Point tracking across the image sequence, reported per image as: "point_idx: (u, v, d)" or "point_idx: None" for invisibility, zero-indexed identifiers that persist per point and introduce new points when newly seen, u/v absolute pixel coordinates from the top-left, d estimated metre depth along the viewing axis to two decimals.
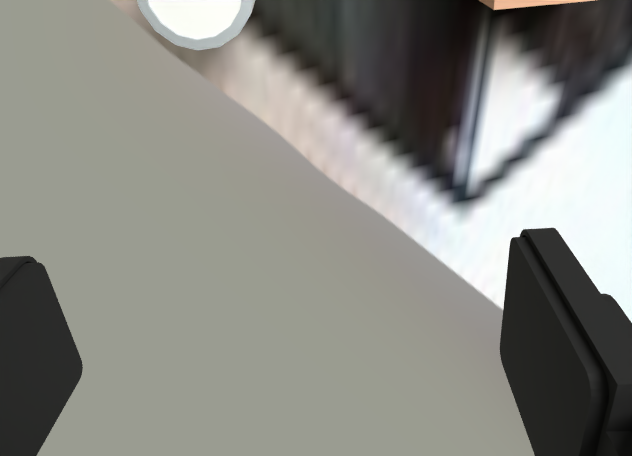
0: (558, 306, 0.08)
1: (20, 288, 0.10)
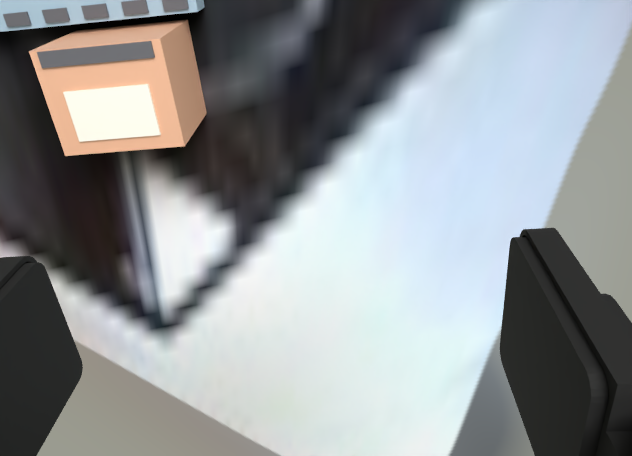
0: (558, 306, 0.08)
1: (20, 288, 0.10)
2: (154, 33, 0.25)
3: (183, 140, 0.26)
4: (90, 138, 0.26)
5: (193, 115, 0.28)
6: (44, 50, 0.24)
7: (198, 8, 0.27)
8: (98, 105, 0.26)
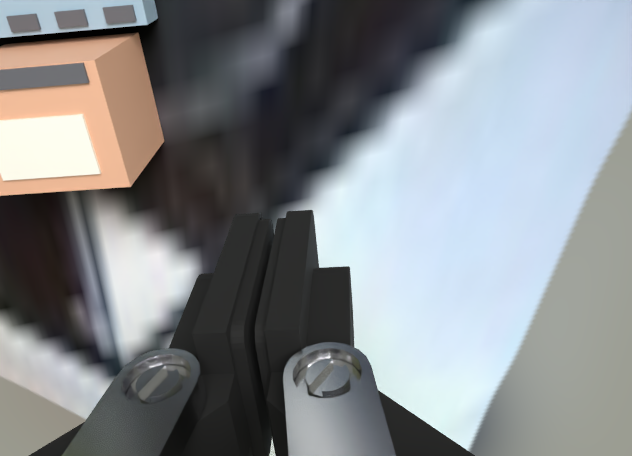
0: (271, 273, 0.09)
1: (266, 240, 0.11)
2: (91, 51, 0.21)
3: (128, 179, 0.22)
4: (15, 176, 0.22)
5: (144, 147, 0.24)
6: None
7: (148, 20, 0.22)
8: (24, 137, 0.21)
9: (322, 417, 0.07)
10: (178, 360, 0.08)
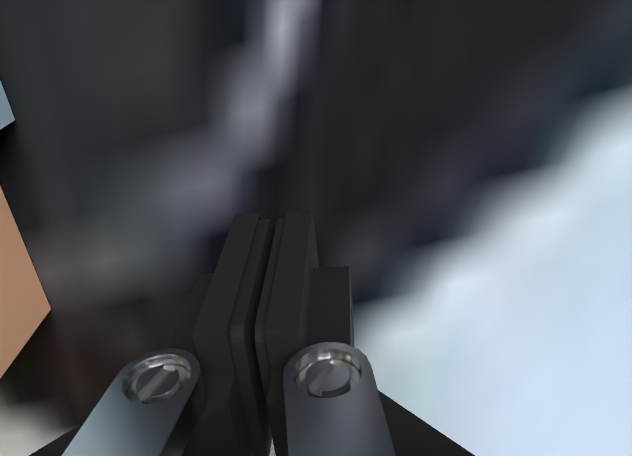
0: (271, 273, 0.09)
1: (266, 240, 0.11)
2: None
3: None
4: None
5: None
6: None
7: None
8: None
9: (322, 417, 0.07)
10: (178, 360, 0.08)
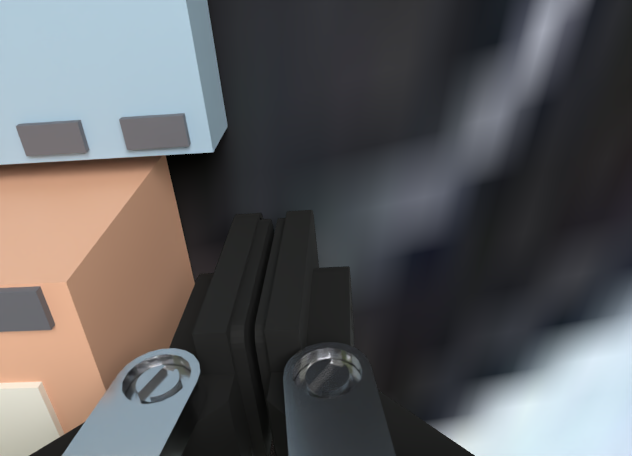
0: (271, 273, 0.09)
1: (266, 240, 0.11)
2: (65, 230, 0.09)
3: None
4: None
5: None
6: None
7: (214, 142, 0.11)
8: None
9: (322, 417, 0.07)
10: (178, 360, 0.08)
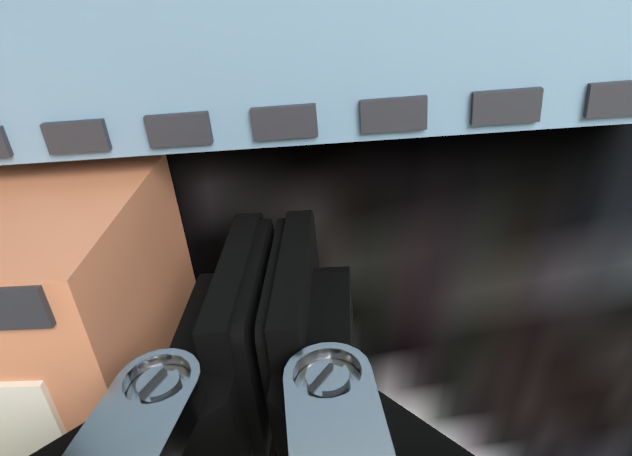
0: (271, 273, 0.09)
1: (266, 240, 0.11)
2: (66, 230, 0.09)
3: None
4: None
5: None
6: None
7: None
8: None
9: (322, 417, 0.07)
10: (178, 360, 0.08)
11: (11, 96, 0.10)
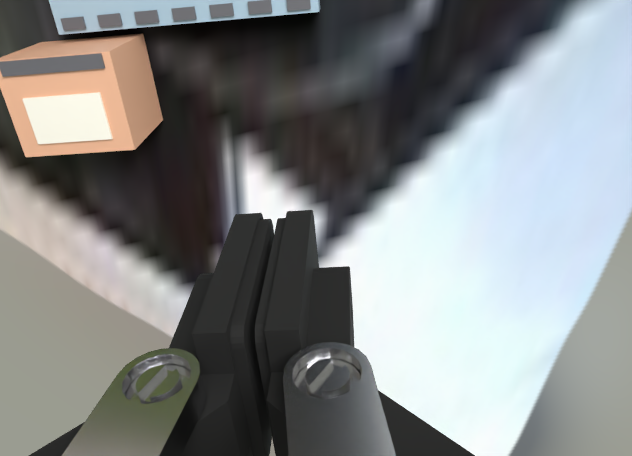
0: (271, 273, 0.09)
1: (266, 240, 0.11)
2: (107, 46, 0.28)
3: (133, 143, 0.28)
4: (47, 140, 0.28)
5: (146, 121, 0.30)
6: (4, 60, 0.27)
7: (318, 8, 0.28)
8: (55, 110, 0.28)
9: (322, 417, 0.07)
10: (178, 360, 0.08)
11: (87, 4, 0.29)
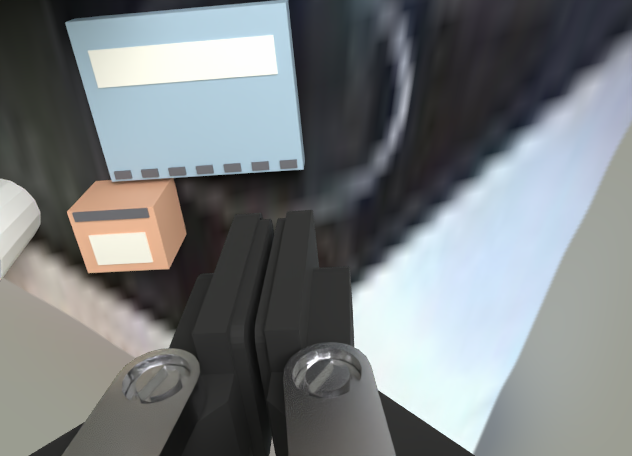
0: (271, 273, 0.09)
1: (266, 240, 0.11)
2: (149, 197, 0.38)
3: (168, 265, 0.39)
4: (105, 263, 0.39)
5: (176, 242, 0.41)
6: (77, 211, 0.37)
7: (303, 166, 0.39)
8: (111, 243, 0.38)
9: (322, 417, 0.07)
10: (178, 360, 0.08)
11: (133, 162, 0.39)
